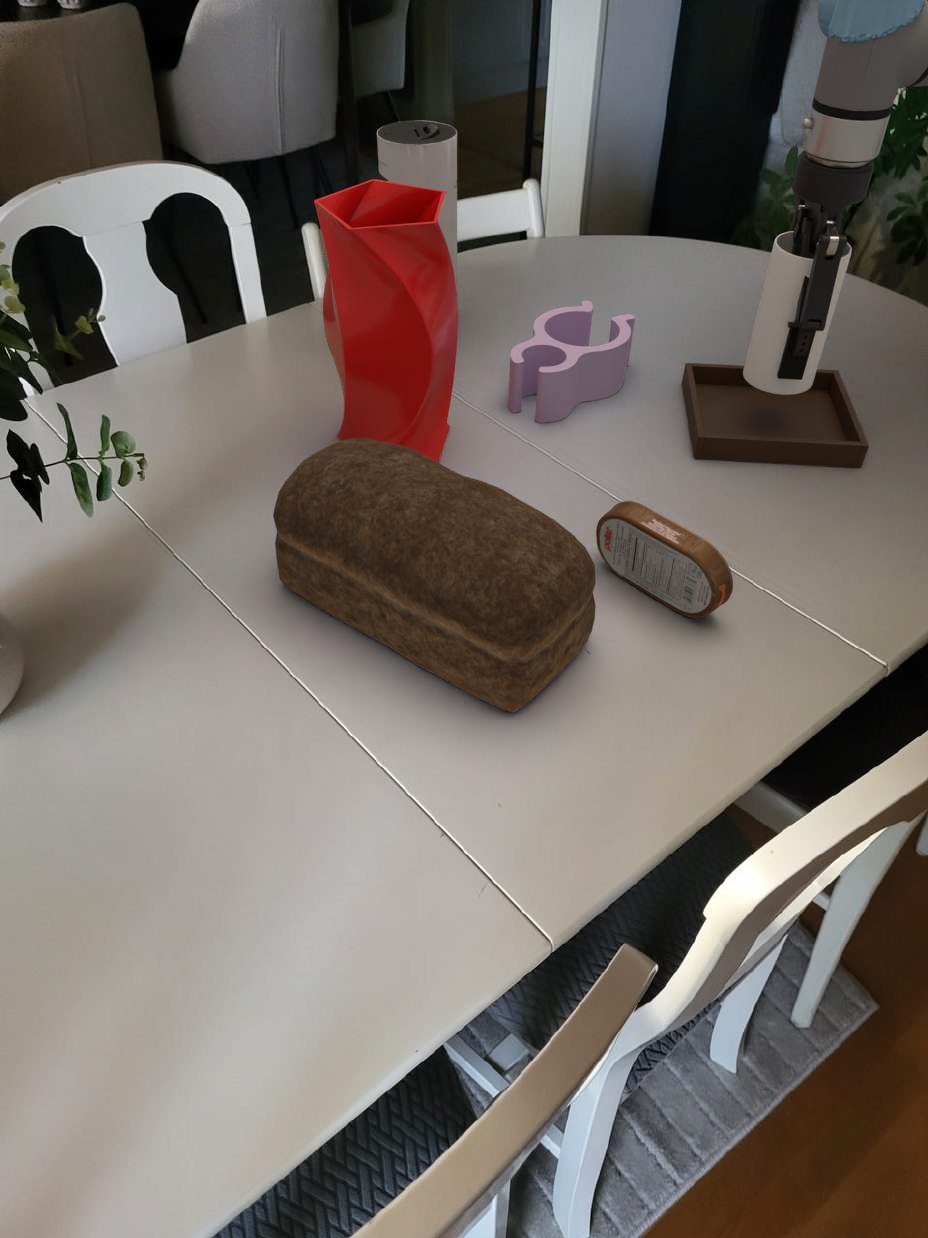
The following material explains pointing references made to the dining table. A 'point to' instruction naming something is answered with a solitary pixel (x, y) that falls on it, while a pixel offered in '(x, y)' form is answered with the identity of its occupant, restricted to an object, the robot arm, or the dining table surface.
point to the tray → (771, 420)
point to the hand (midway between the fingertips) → (783, 358)
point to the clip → (568, 362)
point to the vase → (390, 312)
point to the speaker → (424, 167)
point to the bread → (436, 567)
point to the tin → (664, 559)
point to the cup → (785, 319)
